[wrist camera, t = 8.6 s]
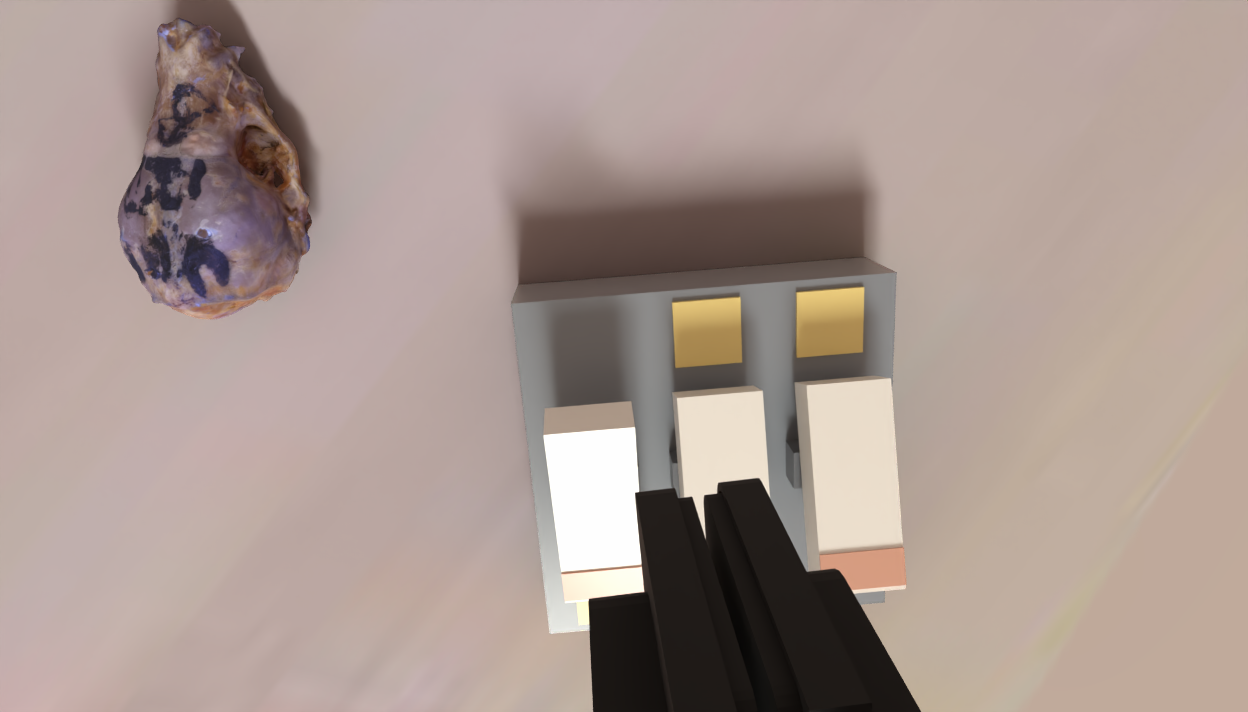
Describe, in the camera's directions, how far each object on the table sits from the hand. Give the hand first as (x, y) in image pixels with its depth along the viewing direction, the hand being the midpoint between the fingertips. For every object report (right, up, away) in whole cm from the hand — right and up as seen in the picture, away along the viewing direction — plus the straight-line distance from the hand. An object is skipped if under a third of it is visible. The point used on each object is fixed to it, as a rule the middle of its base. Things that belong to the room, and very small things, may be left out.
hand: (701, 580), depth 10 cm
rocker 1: (-2, -3, +23) cm, 23 cm away
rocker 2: (+3, -3, +24) cm, 24 cm away
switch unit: (+3, -1, +30) cm, 30 cm away
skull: (-19, +12, +25) cm, 33 cm away
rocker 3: (+9, -3, +23) cm, 25 cm away
